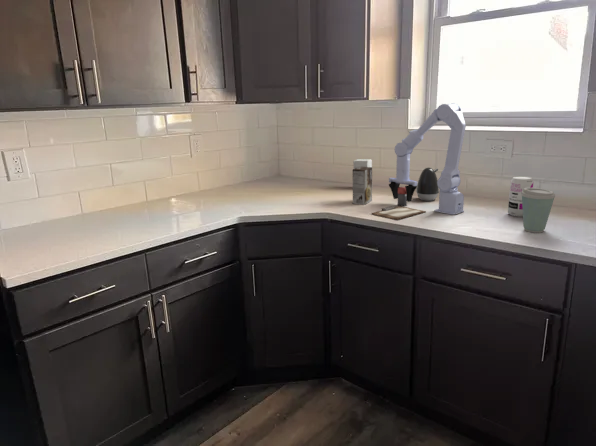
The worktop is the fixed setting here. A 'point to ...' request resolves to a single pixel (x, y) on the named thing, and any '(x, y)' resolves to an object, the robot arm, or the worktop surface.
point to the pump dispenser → (427, 185)
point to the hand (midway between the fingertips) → (402, 199)
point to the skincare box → (362, 163)
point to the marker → (402, 196)
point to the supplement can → (518, 194)
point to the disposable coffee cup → (536, 208)
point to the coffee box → (362, 185)
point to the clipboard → (398, 212)
